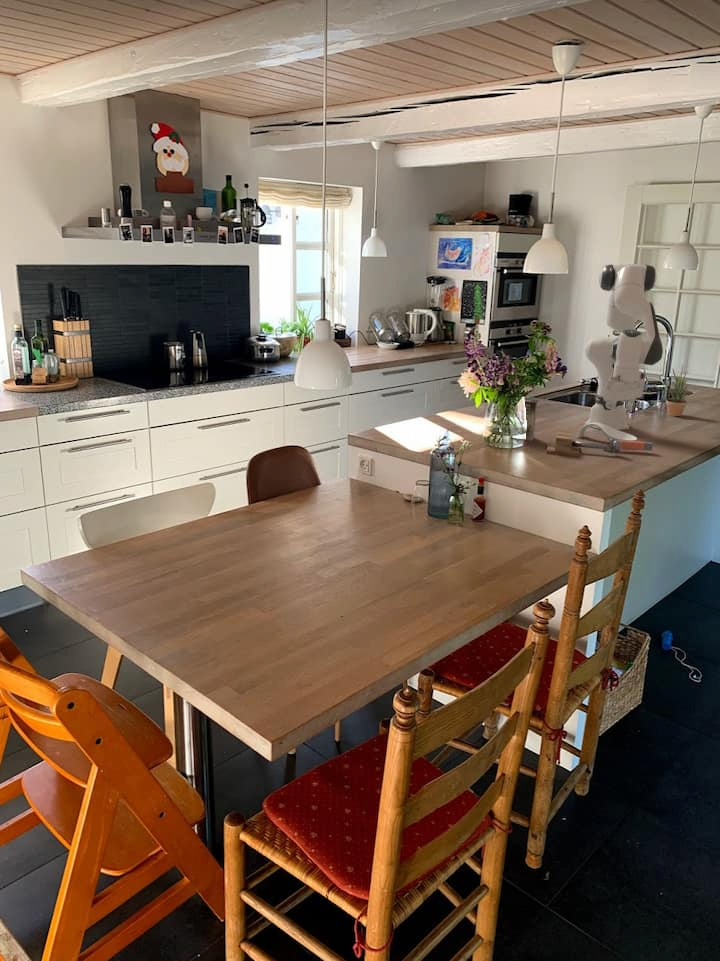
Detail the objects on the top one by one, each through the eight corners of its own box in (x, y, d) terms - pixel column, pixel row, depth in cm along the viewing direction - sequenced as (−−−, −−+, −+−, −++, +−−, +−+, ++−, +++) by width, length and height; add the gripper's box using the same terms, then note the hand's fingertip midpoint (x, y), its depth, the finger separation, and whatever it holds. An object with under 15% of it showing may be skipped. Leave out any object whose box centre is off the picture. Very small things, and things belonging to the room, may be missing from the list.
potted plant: (660, 414, 364) (667, 363, 357) (669, 412, 370) (677, 362, 363) (680, 418, 357) (688, 366, 350) (689, 416, 363) (697, 364, 356)
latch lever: (615, 448, 295) (616, 441, 295) (615, 447, 297) (615, 440, 296) (651, 450, 293) (652, 443, 292) (650, 449, 295) (651, 442, 294)
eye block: (548, 444, 303) (550, 429, 301) (579, 447, 300) (581, 432, 298) (546, 453, 290) (548, 437, 288) (578, 456, 287) (580, 440, 285)
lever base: (603, 447, 300) (604, 436, 299) (618, 449, 299) (620, 438, 298) (603, 451, 295) (604, 440, 294) (619, 452, 293) (620, 441, 292)
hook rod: (556, 445, 296) (557, 435, 295) (620, 451, 290) (621, 441, 289) (556, 446, 294) (557, 436, 292) (620, 453, 287) (622, 442, 286)
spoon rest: (640, 444, 308) (642, 427, 306) (630, 450, 299) (632, 432, 297) (584, 435, 322) (586, 418, 319) (573, 439, 313) (575, 423, 311)
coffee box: (509, 438, 311) (513, 400, 306) (512, 435, 316) (515, 397, 312) (532, 441, 308) (536, 402, 303) (534, 437, 314) (538, 399, 309)
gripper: (616, 378, 272) (611, 416, 277) (649, 373, 284) (643, 409, 288) (601, 375, 277) (596, 412, 281) (634, 371, 289) (629, 406, 293)
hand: (621, 411), depth 285 cm, fingers open, 8 cm apart
